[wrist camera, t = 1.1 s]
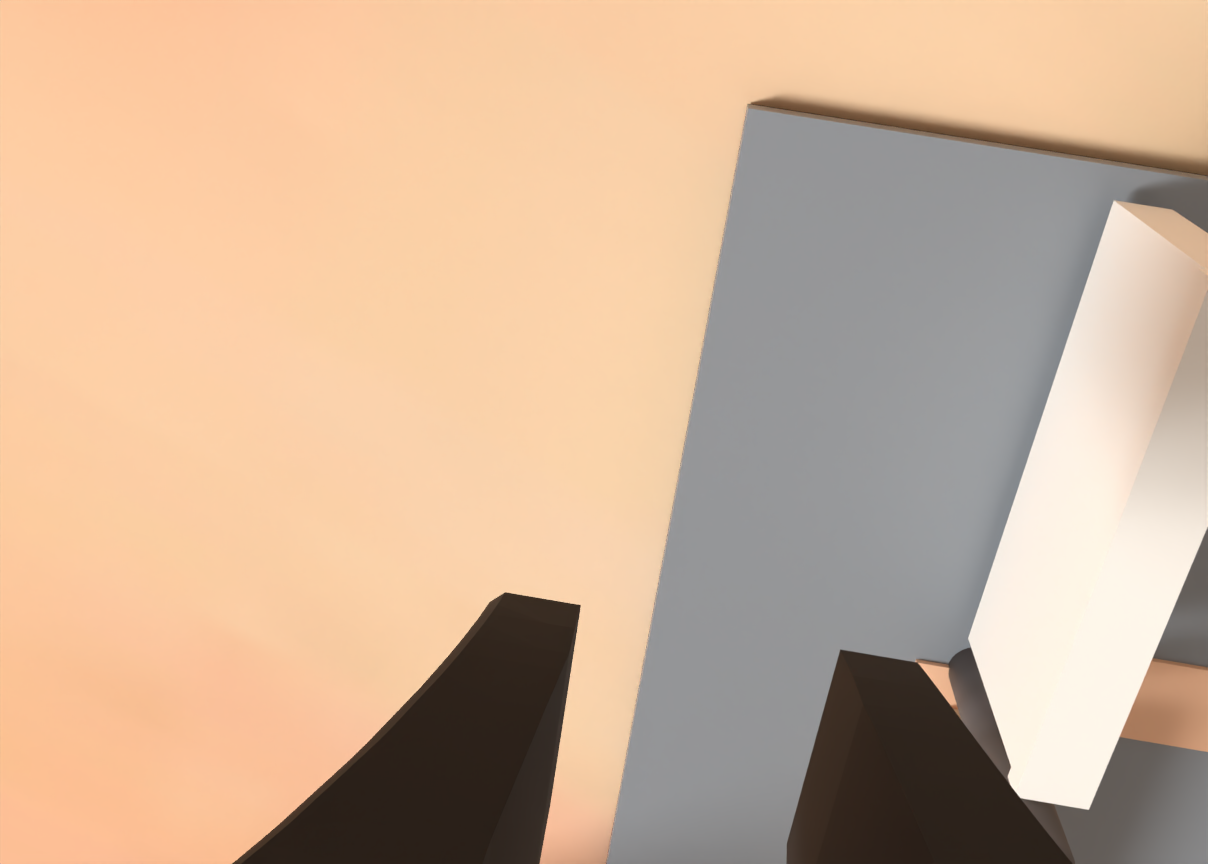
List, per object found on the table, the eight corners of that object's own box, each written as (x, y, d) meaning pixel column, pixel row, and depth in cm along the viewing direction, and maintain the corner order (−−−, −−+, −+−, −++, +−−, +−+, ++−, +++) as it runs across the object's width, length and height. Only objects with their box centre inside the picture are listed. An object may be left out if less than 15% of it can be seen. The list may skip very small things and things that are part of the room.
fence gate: (1022, 647, 19) (1088, 809, 15) (961, 637, 19) (1014, 797, 15) (1179, 210, 16) (1305, 294, 12) (1106, 199, 16) (1212, 279, 12)
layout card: (1365, 1009, 22) (1379, 1031, 22) (604, 875, 23) (601, 894, 22) (1820, 271, 16) (1854, 283, 15) (748, 103, 16) (748, 108, 16)
